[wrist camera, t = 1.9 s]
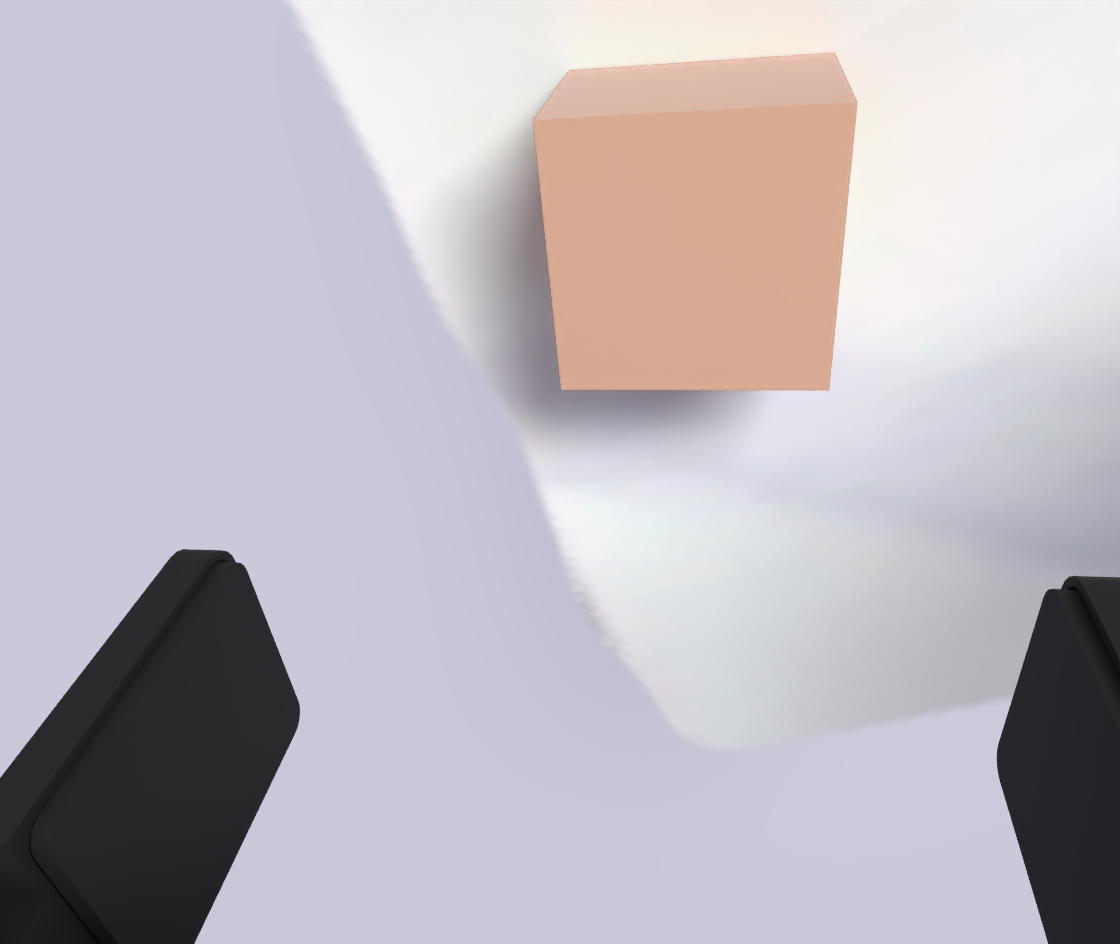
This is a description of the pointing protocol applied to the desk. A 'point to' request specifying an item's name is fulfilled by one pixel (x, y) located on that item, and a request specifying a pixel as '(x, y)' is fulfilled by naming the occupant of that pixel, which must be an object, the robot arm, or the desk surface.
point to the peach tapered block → (697, 222)
